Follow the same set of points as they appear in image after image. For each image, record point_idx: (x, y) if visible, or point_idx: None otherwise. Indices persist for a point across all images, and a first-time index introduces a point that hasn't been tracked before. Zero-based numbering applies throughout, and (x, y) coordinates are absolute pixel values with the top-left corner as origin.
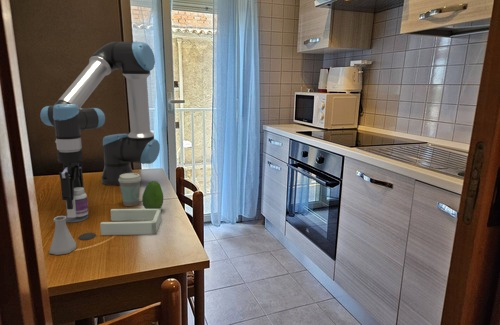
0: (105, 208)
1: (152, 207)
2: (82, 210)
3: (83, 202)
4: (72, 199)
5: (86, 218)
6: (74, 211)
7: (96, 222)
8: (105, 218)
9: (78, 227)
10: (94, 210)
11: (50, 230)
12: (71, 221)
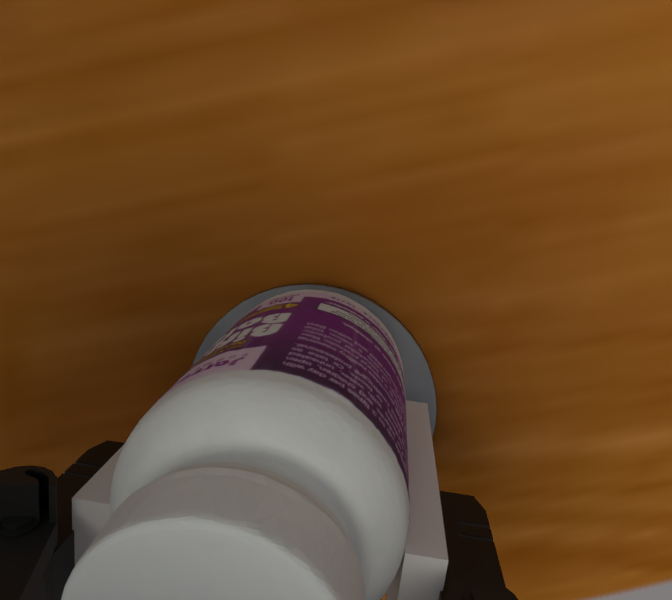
0: (42, 135)
1: None
2: (388, 356)
3: (367, 383)
4: (500, 593)
5: (352, 292)
6: (431, 447)
7: (481, 155)
8: (371, 67)
9: (585, 325)
10: (103, 254)
11: (594, 561)
12: (434, 426)
